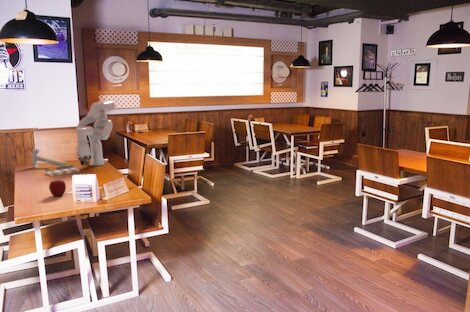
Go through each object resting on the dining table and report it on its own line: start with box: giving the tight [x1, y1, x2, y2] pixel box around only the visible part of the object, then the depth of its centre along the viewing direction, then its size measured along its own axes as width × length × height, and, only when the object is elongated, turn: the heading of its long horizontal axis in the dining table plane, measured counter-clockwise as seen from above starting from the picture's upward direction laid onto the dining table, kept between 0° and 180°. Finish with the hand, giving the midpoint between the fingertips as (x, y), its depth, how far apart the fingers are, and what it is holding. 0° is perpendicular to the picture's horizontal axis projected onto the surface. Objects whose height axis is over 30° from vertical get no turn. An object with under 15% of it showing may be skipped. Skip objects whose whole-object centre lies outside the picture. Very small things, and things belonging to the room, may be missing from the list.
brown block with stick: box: [82, 156, 90, 167], centre depth 321 cm, size 4×10×6 cm, turn 46°
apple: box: [48, 180, 67, 197], centre depth 242 cm, size 10×10×10 cm
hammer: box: [31, 148, 68, 169], centre depth 331 cm, size 16×5×30 cm
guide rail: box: [44, 164, 75, 172], centre depth 313 cm, size 22×1×2 cm, turn 136°
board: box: [44, 167, 80, 177], centre depth 310 cm, size 22×12×2 cm, turn 136°
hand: (84, 164), depth 323 cm, fingers closed on brown block with stick, 4 cm apart
